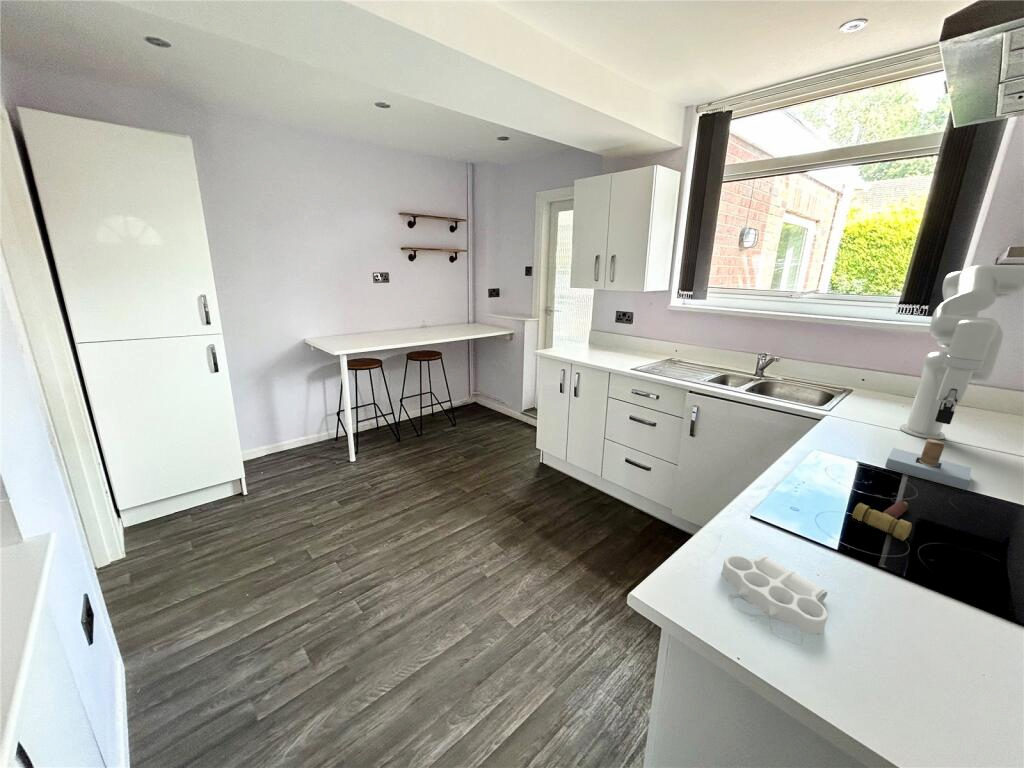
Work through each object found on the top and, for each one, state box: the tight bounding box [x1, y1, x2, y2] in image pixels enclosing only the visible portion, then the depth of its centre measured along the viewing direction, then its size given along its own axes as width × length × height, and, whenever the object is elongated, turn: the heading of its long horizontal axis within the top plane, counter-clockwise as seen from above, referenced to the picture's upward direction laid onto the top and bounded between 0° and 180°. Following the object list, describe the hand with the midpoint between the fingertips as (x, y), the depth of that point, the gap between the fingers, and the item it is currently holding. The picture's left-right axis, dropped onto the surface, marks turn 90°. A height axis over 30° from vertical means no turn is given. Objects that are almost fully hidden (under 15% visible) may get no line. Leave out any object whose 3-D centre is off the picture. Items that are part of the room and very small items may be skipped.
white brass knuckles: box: [721, 554, 828, 635], centre depth 81 cm, size 3×18×15 cm
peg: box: [919, 438, 946, 468], centre depth 130 cm, size 4×4×10 cm
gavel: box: [852, 500, 913, 541], centre depth 106 cm, size 21×5×10 cm
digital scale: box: [885, 447, 972, 491], centre depth 131 cm, size 12×18×3 cm, turn 43°
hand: (943, 418), depth 127 cm, fingers open, 9 cm apart
